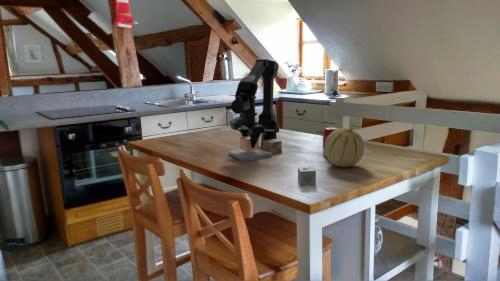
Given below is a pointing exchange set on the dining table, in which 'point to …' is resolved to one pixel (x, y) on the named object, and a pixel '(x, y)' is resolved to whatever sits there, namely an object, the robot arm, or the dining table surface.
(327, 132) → the soda can
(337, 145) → the cantaloupe
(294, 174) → the dining table surface
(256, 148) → the terracotta brick
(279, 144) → the walnut brick
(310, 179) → the grey cube
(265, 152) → the base board
